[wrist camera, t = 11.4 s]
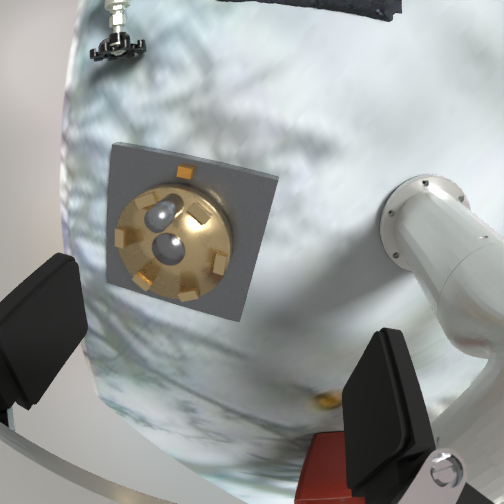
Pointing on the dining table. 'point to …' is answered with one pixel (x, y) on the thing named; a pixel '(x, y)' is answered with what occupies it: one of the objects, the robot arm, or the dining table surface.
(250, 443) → the dining table surface
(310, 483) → the plant pot
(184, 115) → the dining table surface
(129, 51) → the valve
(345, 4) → the dark slate chunk
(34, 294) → the robot arm
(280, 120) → the dining table surface
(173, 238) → the brass crank wheel
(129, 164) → the housing
